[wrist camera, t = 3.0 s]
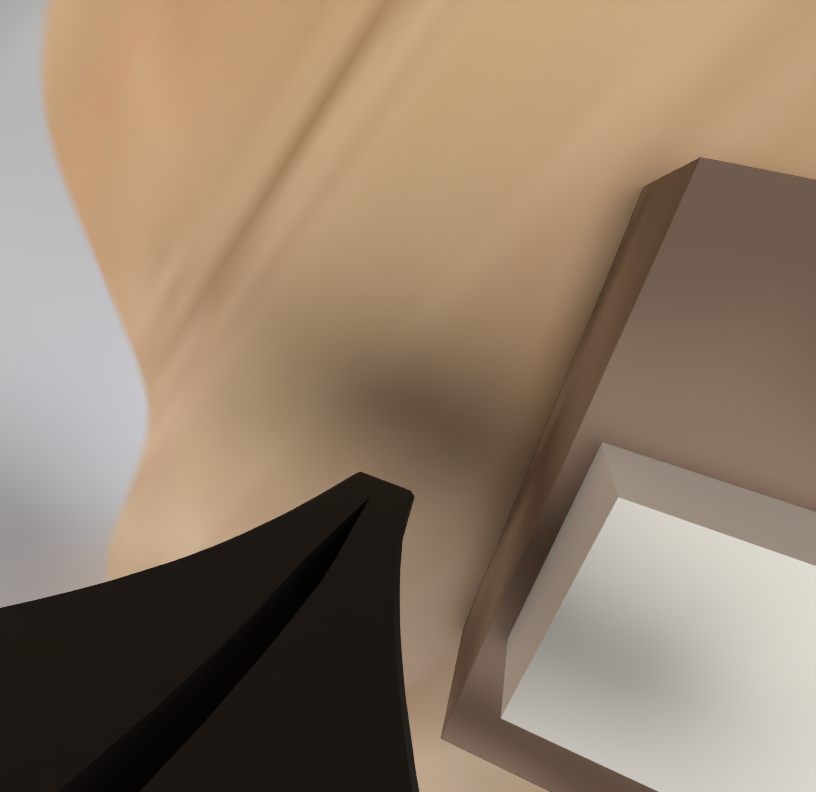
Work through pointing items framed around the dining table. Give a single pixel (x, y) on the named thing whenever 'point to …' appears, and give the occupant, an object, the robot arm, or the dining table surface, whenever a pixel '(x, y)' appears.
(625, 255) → the plate
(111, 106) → the dining table surface
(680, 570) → the flat white box
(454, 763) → the dining table surface
